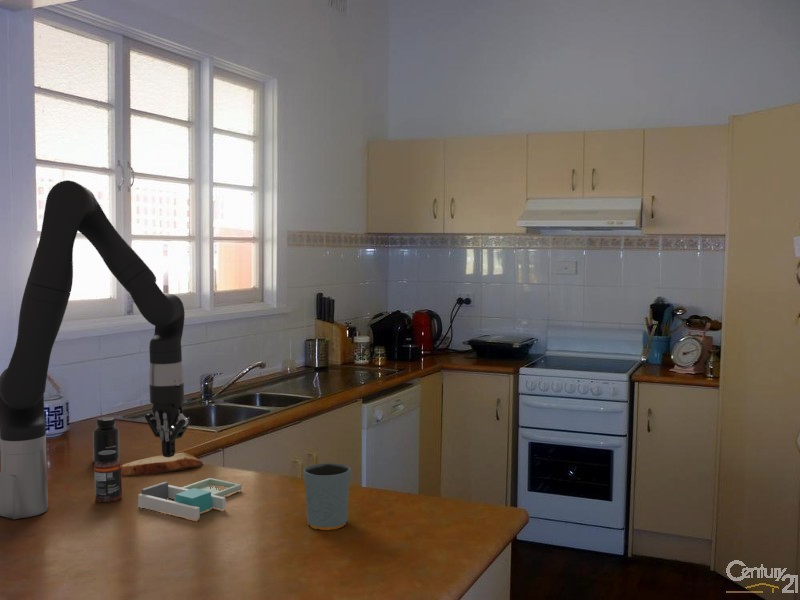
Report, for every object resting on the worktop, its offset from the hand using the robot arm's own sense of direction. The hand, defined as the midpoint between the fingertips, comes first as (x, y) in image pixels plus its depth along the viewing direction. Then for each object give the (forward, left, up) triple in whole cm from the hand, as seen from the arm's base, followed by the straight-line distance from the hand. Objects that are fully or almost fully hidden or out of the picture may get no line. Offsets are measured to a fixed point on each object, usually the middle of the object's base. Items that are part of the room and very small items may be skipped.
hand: (168, 456), depth 181 cm
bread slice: (+20, +26, -12) cm, 35 cm away
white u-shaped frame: (0, -4, -12) cm, 12 cm away
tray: (+11, -2, -12) cm, 16 cm away
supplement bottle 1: (+18, +45, -12) cm, 50 cm away
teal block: (0, -8, -12) cm, 14 cm away
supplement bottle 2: (-4, +16, -12) cm, 20 cm away
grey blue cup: (+10, -38, -12) cm, 41 cm away
